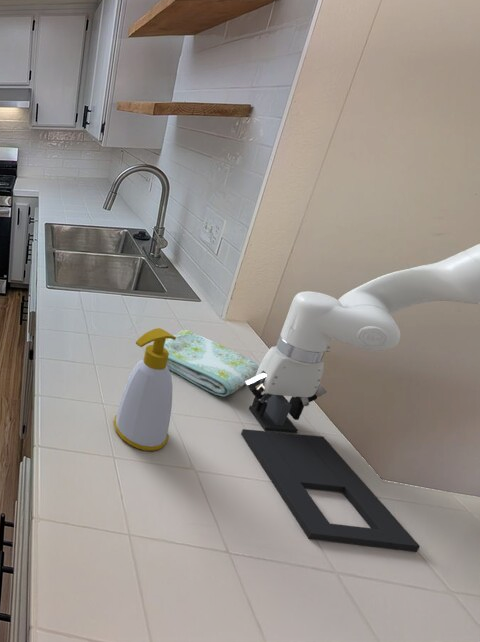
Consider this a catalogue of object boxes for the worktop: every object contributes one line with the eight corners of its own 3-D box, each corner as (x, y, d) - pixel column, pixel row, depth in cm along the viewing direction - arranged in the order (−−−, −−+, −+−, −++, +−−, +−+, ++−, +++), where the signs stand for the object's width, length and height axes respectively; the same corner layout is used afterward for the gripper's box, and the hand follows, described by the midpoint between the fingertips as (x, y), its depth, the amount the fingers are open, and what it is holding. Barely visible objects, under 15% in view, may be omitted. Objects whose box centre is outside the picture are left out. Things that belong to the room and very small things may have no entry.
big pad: (320, 441, 83) (323, 436, 82) (416, 552, 63) (420, 546, 62) (240, 434, 85) (242, 429, 84) (308, 539, 65) (311, 533, 64)
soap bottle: (101, 421, 88) (117, 324, 78) (138, 406, 92) (158, 312, 82) (139, 460, 79) (163, 355, 69) (179, 441, 83) (207, 340, 73)
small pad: (278, 411, 91) (287, 387, 88) (296, 433, 85) (307, 409, 82) (248, 408, 92) (256, 385, 89) (264, 430, 86) (273, 406, 83)
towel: (182, 338, 118) (186, 324, 116) (260, 376, 102) (266, 361, 100) (146, 358, 109) (149, 343, 107) (225, 404, 93) (231, 387, 91)
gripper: (332, 341, 83) (305, 405, 90) (245, 335, 85) (225, 398, 92) (360, 363, 76) (328, 430, 83) (265, 356, 78) (241, 422, 85)
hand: (274, 413), depth 87 cm, fingers open, 6 cm apart
